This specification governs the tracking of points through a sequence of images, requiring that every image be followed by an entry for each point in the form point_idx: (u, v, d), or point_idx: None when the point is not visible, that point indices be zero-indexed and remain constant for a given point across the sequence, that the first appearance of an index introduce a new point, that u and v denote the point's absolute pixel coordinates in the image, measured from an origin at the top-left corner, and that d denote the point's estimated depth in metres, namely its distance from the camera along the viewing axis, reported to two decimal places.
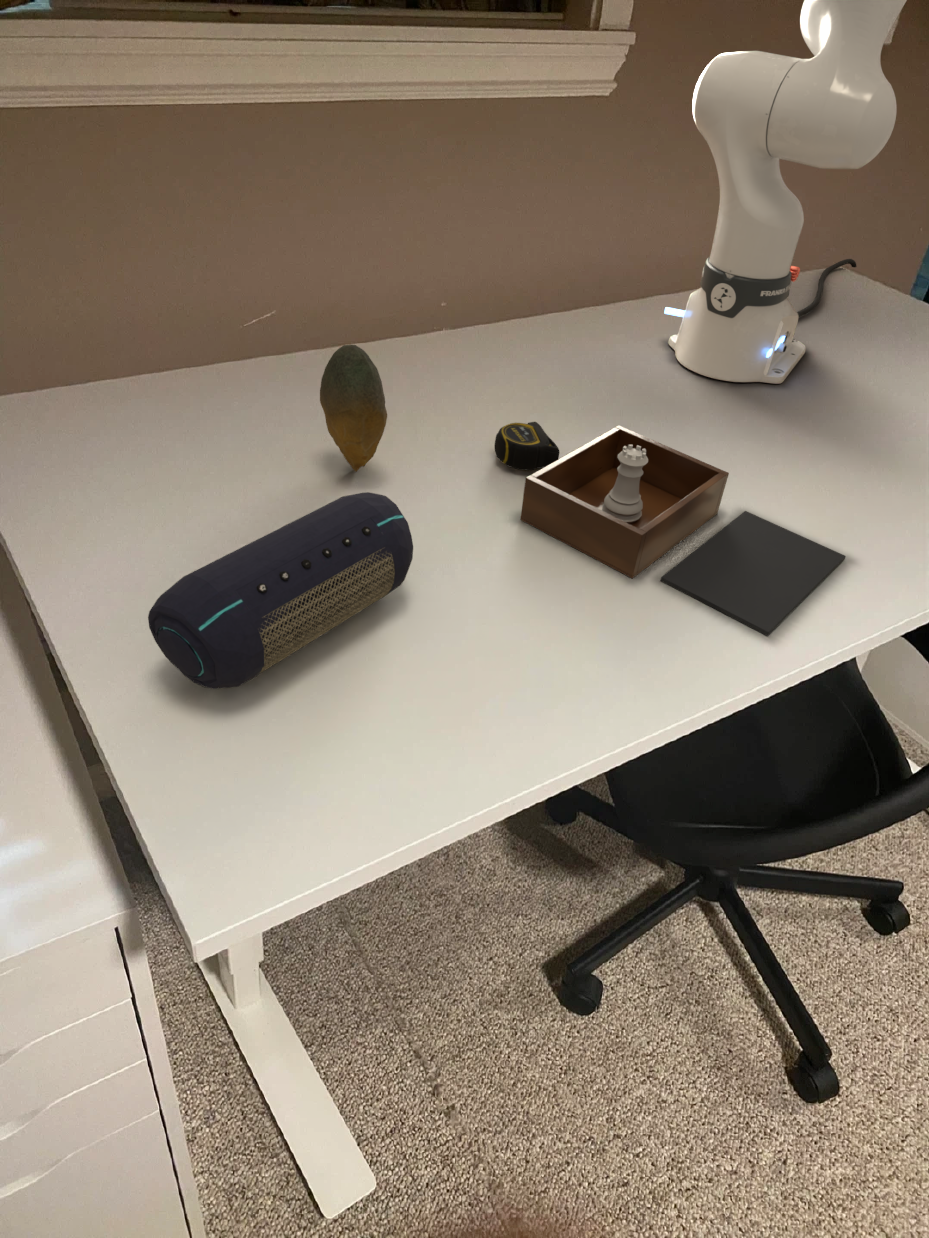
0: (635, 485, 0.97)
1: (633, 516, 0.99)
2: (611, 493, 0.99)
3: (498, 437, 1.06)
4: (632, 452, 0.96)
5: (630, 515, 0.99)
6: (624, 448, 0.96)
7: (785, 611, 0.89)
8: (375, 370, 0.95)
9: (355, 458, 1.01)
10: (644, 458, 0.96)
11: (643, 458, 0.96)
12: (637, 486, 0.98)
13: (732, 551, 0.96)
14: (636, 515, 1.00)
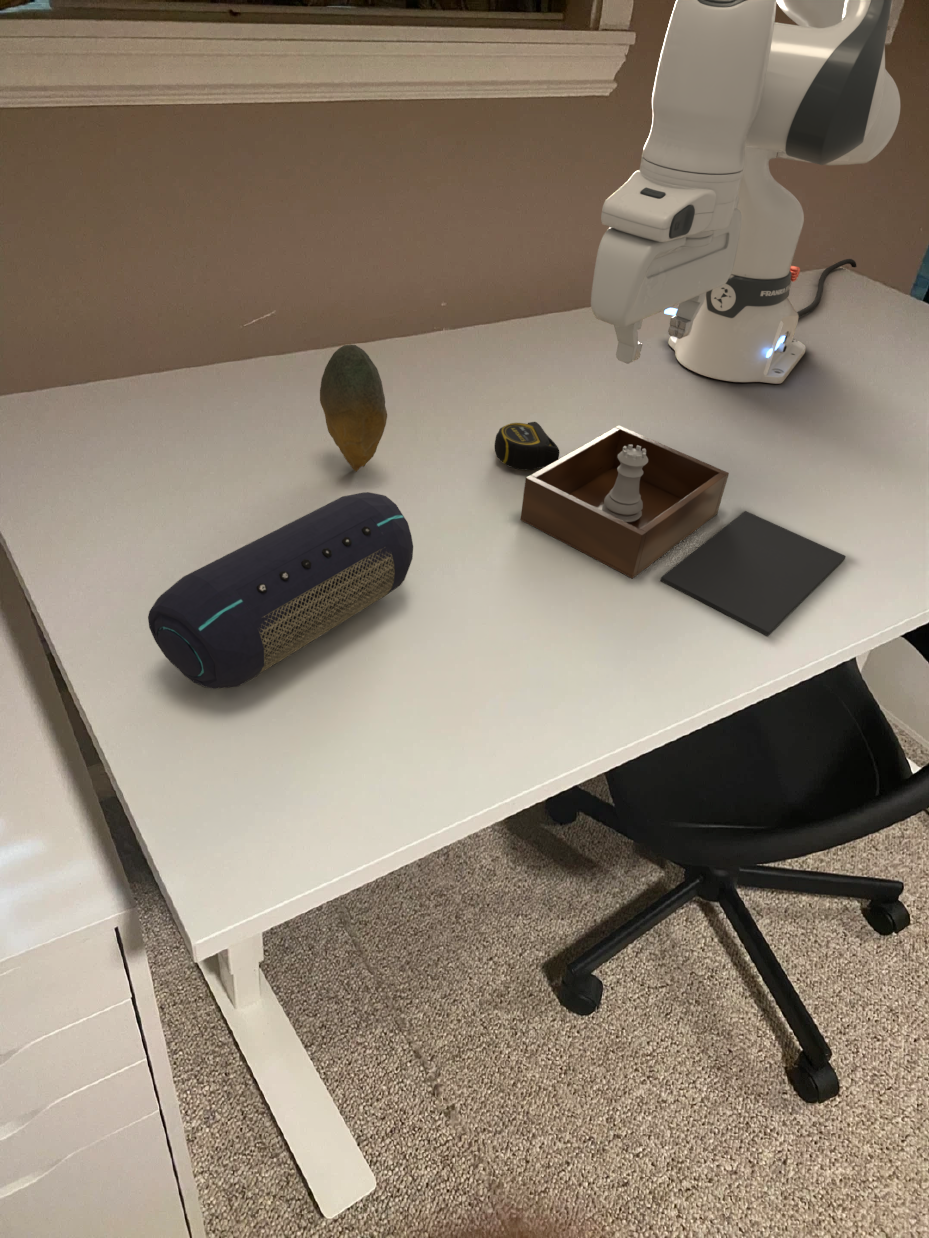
0: (635, 485, 0.97)
1: (633, 516, 0.99)
2: (611, 493, 0.99)
3: (498, 437, 1.06)
4: (632, 452, 0.96)
5: (630, 515, 0.99)
6: (624, 448, 0.96)
7: (785, 611, 0.89)
8: (375, 370, 0.95)
9: (355, 458, 1.01)
10: (644, 458, 0.96)
11: (643, 458, 0.96)
12: (637, 486, 0.98)
13: (732, 551, 0.96)
14: (636, 515, 1.00)
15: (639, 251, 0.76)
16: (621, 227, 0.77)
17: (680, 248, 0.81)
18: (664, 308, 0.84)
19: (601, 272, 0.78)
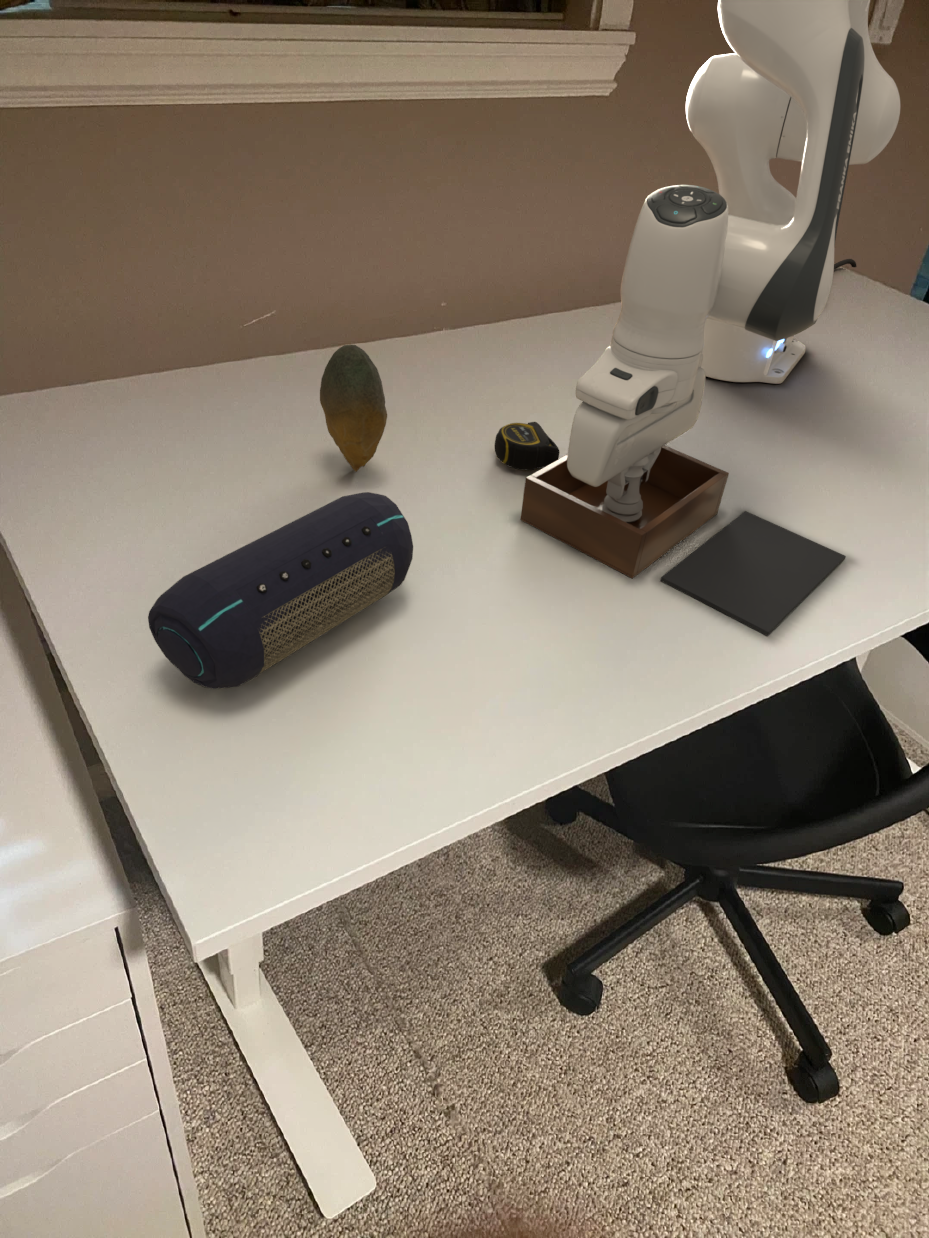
0: (635, 485, 0.97)
1: (633, 516, 0.99)
2: None
3: (498, 437, 1.06)
4: None
5: (630, 515, 0.99)
6: None
7: (785, 611, 0.89)
8: (375, 370, 0.95)
9: (355, 458, 1.01)
10: (644, 458, 0.96)
11: (644, 458, 0.96)
12: (637, 486, 0.98)
13: (732, 551, 0.96)
14: (636, 515, 1.00)
15: (609, 426, 0.85)
16: (593, 404, 0.86)
17: None
18: (634, 462, 0.93)
19: (576, 440, 0.88)
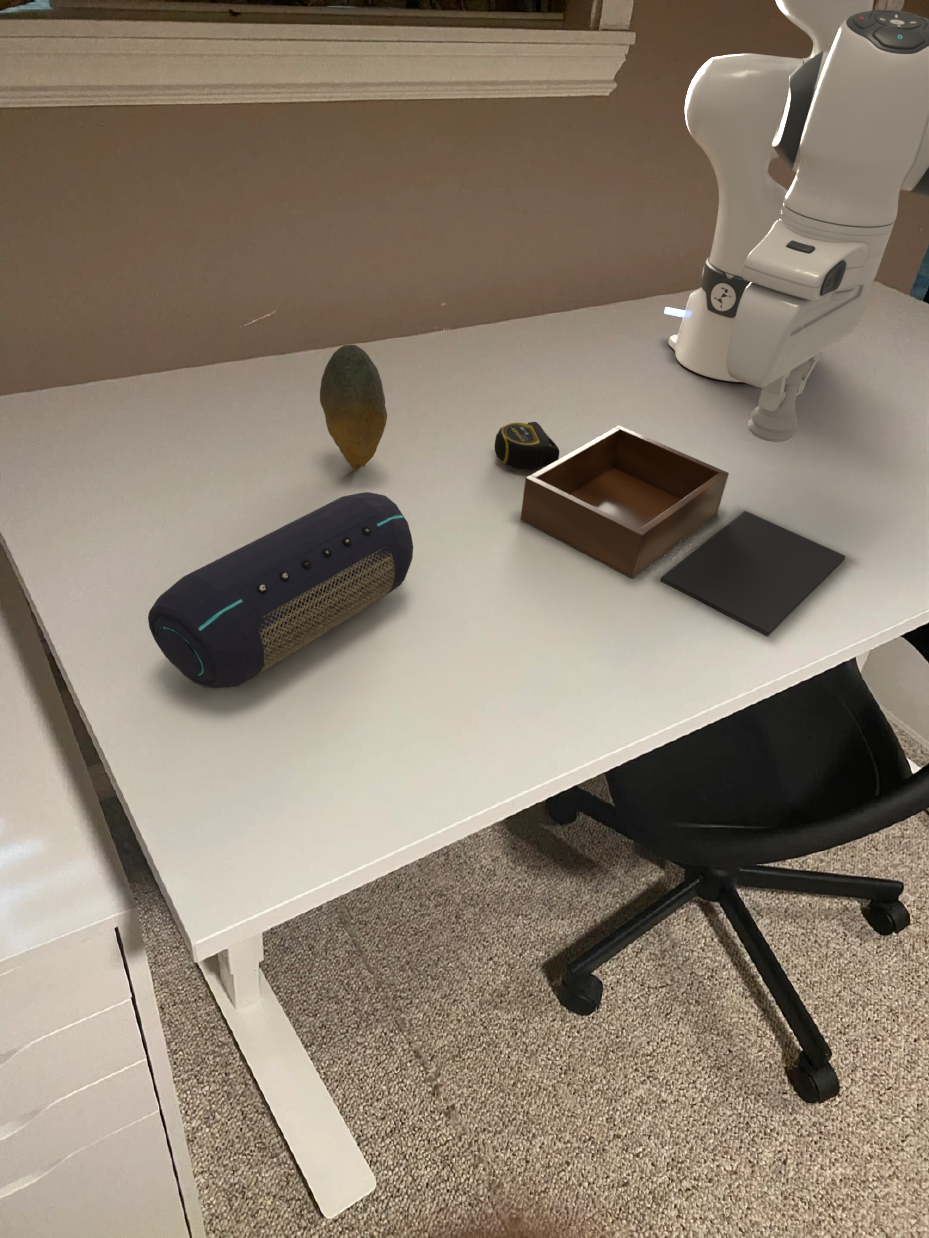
0: (793, 394, 0.83)
1: (787, 433, 0.85)
2: None
3: (498, 437, 1.06)
4: None
5: (784, 431, 0.85)
6: None
7: (785, 611, 0.89)
8: (375, 370, 0.95)
9: (355, 458, 1.01)
10: (806, 361, 0.81)
11: (806, 361, 0.81)
12: (794, 396, 0.83)
13: (732, 551, 0.96)
14: (790, 432, 0.85)
15: (787, 310, 0.71)
16: (766, 283, 0.72)
17: None
18: (799, 363, 0.79)
19: (742, 330, 0.74)
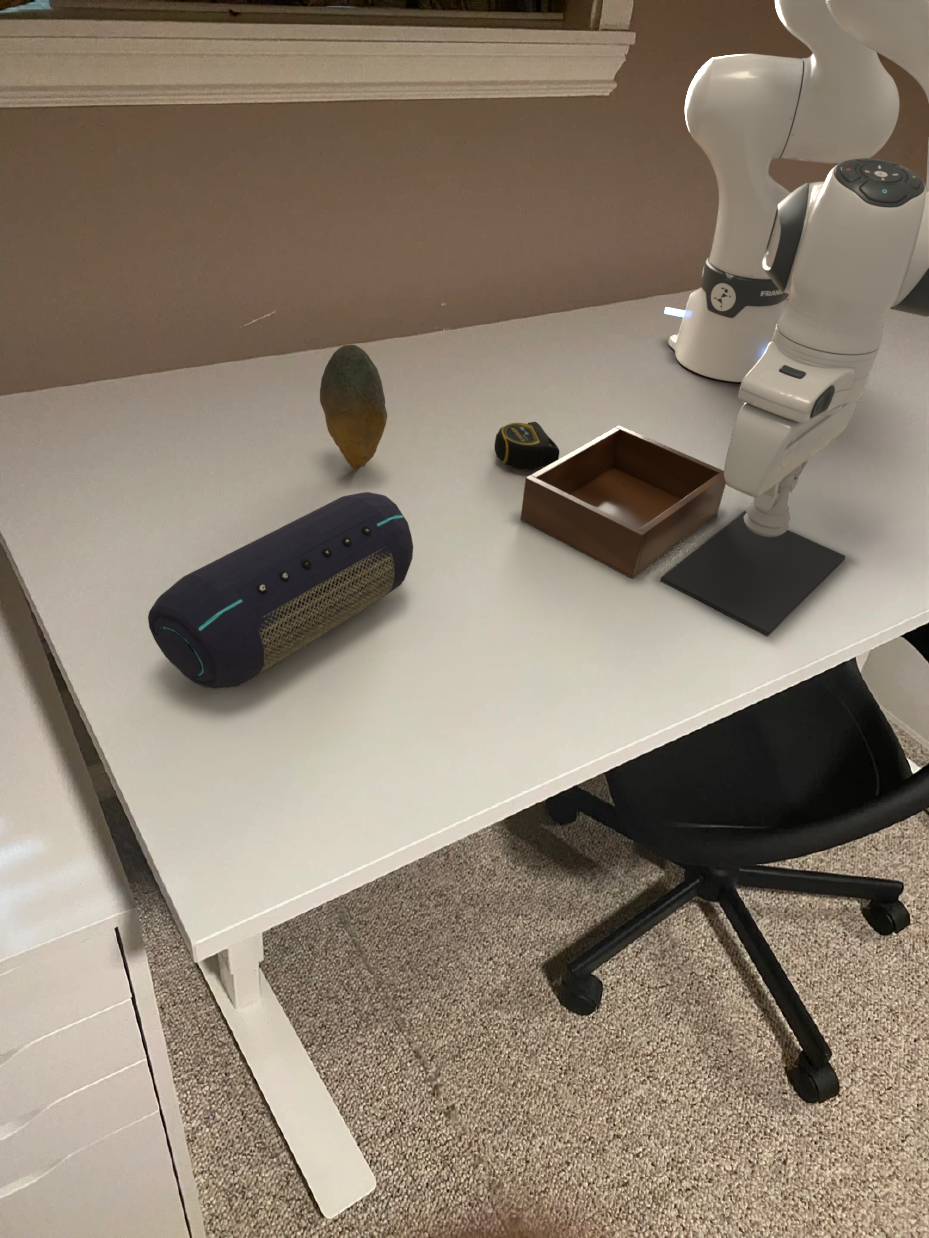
0: (786, 494, 0.88)
1: (780, 528, 0.90)
2: None
3: (498, 437, 1.06)
4: None
5: (777, 527, 0.90)
6: None
7: (785, 611, 0.89)
8: (375, 370, 0.95)
9: (355, 458, 1.01)
10: None
11: None
12: (787, 496, 0.89)
13: (732, 551, 0.96)
14: (783, 527, 0.90)
15: (779, 431, 0.76)
16: (760, 405, 0.77)
17: None
18: (792, 470, 0.84)
19: (738, 446, 0.79)
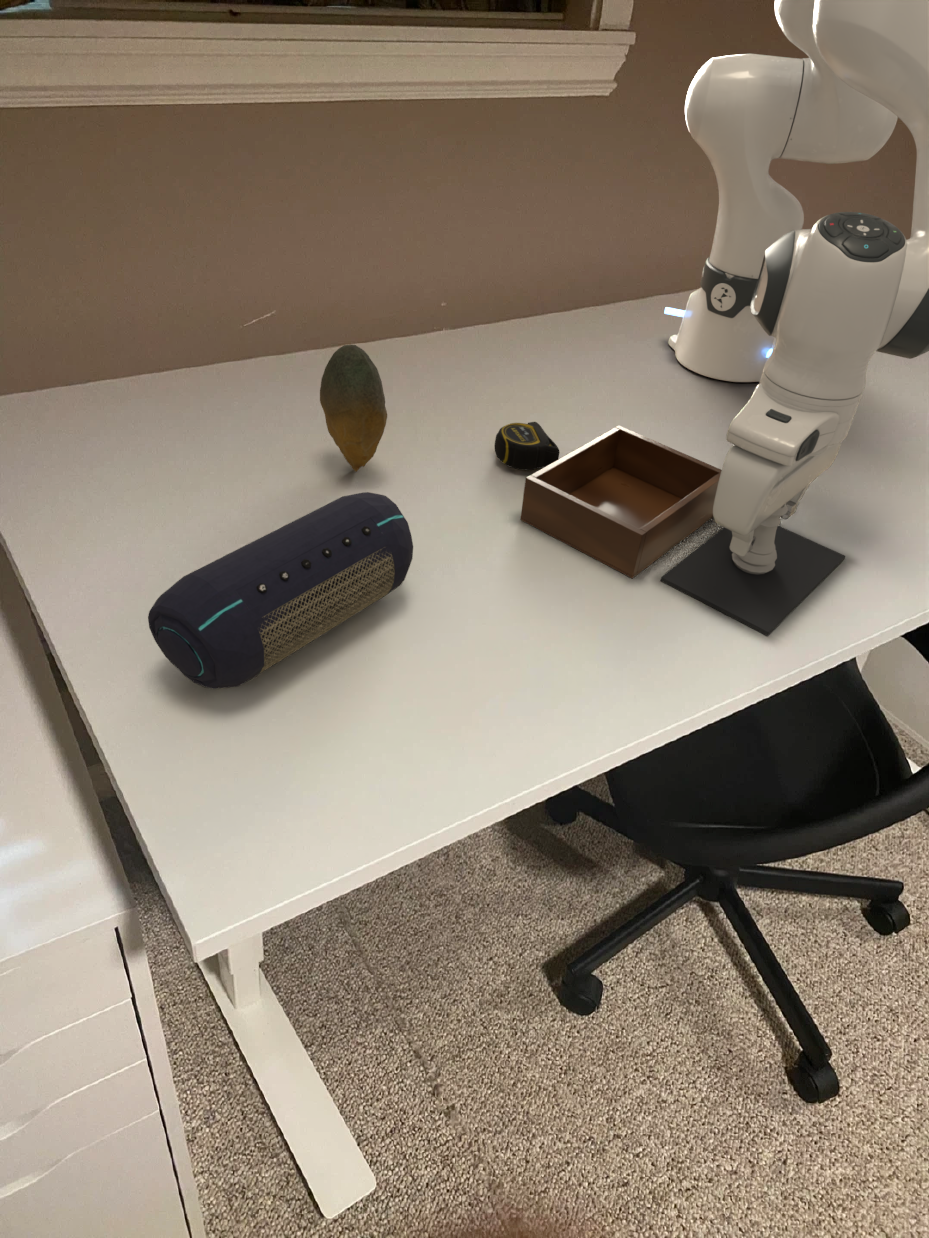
0: (772, 534, 0.91)
1: (767, 566, 0.93)
2: None
3: (498, 437, 1.06)
4: None
5: (764, 565, 0.93)
6: None
7: (785, 611, 0.89)
8: (375, 370, 0.95)
9: (355, 458, 1.01)
10: (784, 507, 0.90)
11: (784, 506, 0.89)
12: (774, 535, 0.92)
13: None
14: (770, 565, 0.93)
15: (766, 473, 0.79)
16: (748, 448, 0.80)
17: None
18: (779, 507, 0.87)
19: (726, 486, 0.81)
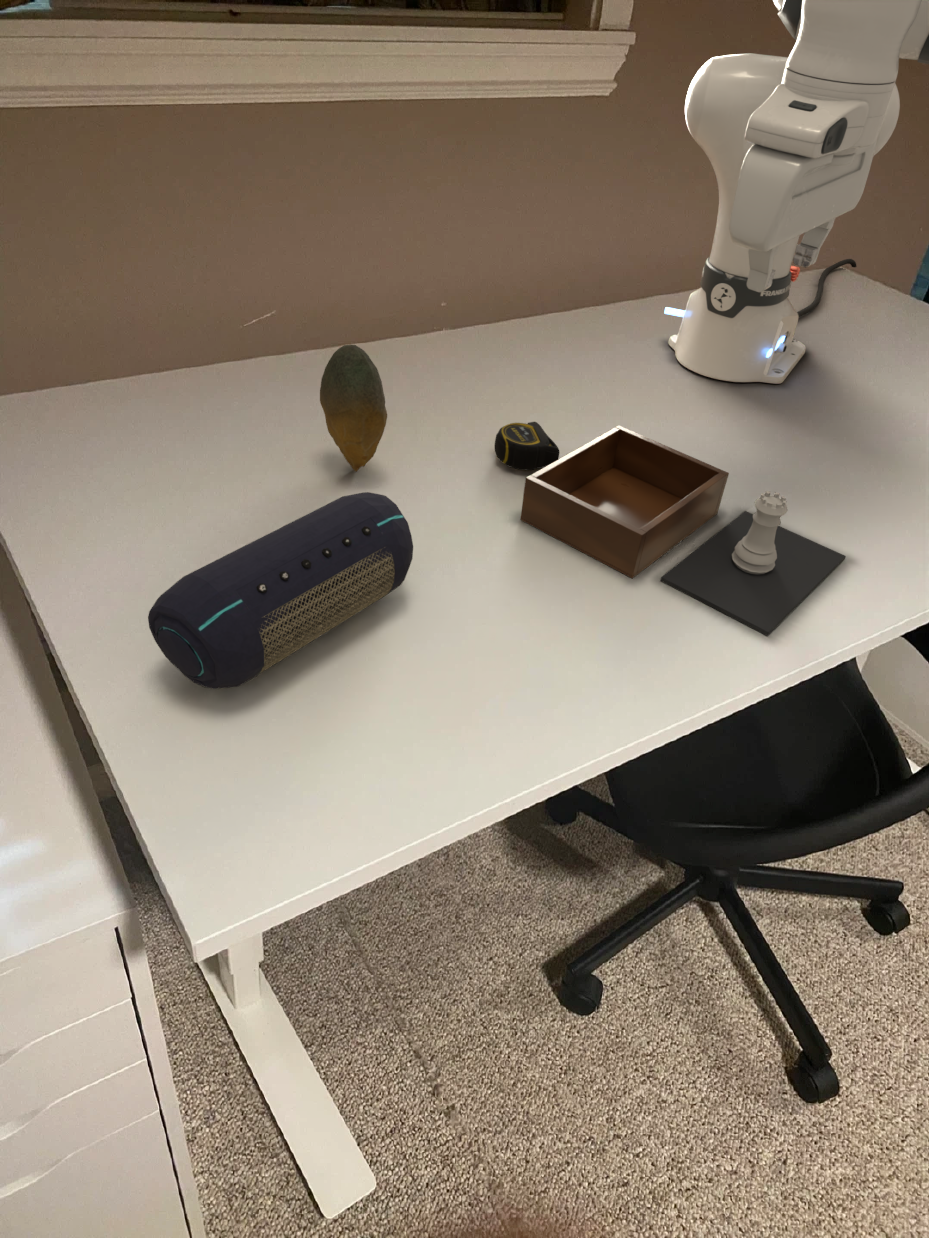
0: (772, 534, 0.91)
1: (767, 566, 0.93)
2: (744, 542, 0.93)
3: (498, 437, 1.06)
4: (771, 500, 0.90)
5: (764, 565, 0.93)
6: (762, 496, 0.90)
7: (785, 611, 0.89)
8: (375, 370, 0.95)
9: (355, 458, 1.01)
10: (784, 507, 0.90)
11: (784, 506, 0.89)
12: (774, 535, 0.92)
13: (732, 551, 0.96)
14: (770, 565, 0.93)
15: (789, 168, 0.72)
16: (769, 143, 0.73)
17: (823, 167, 0.77)
18: (801, 232, 0.80)
19: (744, 192, 0.75)
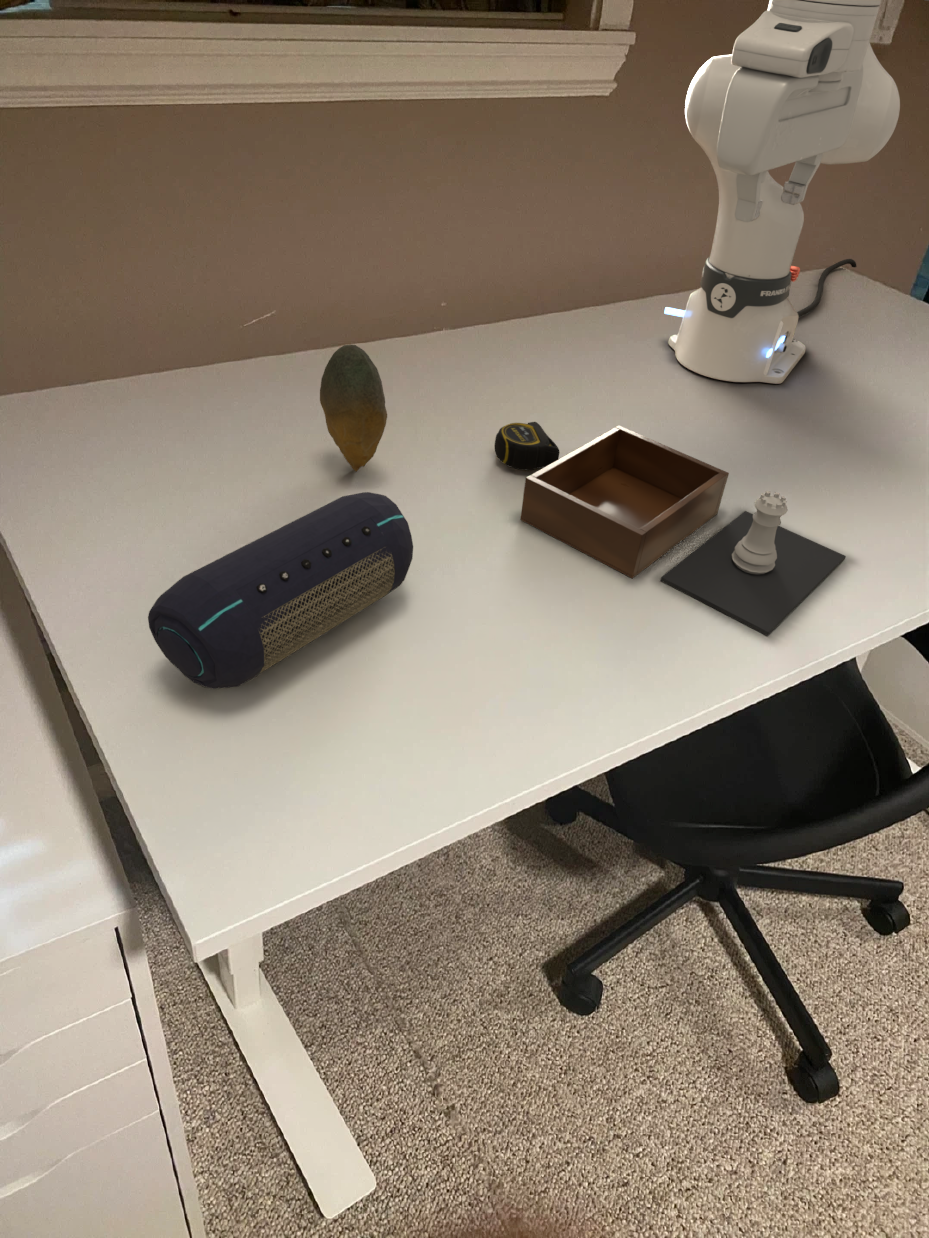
0: (772, 534, 0.91)
1: (767, 566, 0.93)
2: (744, 542, 0.93)
3: (498, 437, 1.06)
4: (771, 500, 0.90)
5: (764, 565, 0.93)
6: (762, 495, 0.90)
7: (785, 611, 0.89)
8: (375, 370, 0.95)
9: (355, 458, 1.01)
10: (784, 507, 0.90)
11: (784, 506, 0.89)
12: (774, 535, 0.92)
13: (732, 551, 0.96)
14: (770, 565, 0.93)
15: (775, 87, 0.73)
16: (755, 64, 0.74)
17: (809, 93, 0.78)
18: (788, 161, 0.81)
19: (731, 115, 0.76)
